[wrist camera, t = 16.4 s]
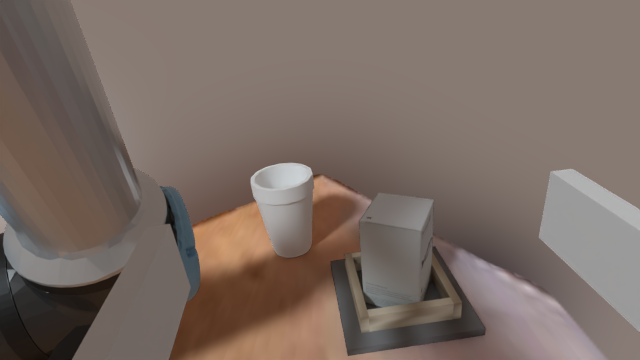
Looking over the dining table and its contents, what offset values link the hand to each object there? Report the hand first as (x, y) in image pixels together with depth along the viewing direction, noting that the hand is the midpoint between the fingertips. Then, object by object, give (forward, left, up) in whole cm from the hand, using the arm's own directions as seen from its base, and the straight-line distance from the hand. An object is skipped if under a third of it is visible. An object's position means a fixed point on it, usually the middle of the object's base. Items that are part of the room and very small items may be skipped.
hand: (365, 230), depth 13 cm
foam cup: (-35, +23, -30) cm, 52 cm away
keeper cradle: (-15, +24, -30) cm, 41 cm away
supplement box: (-15, +24, -29) cm, 41 cm away
